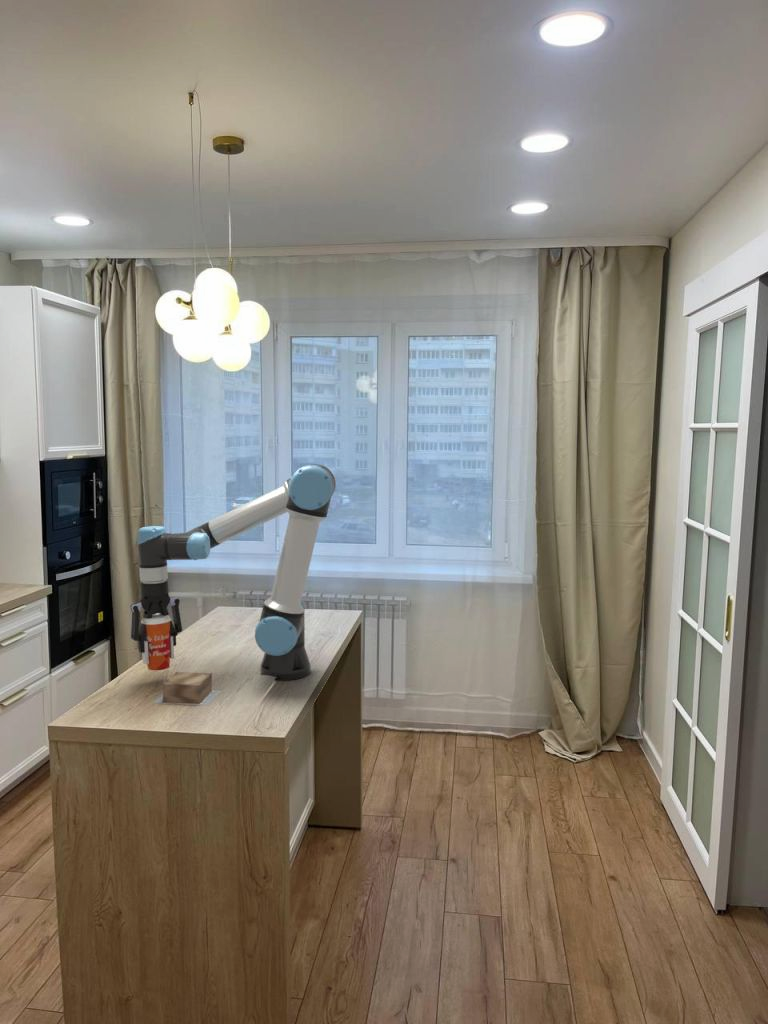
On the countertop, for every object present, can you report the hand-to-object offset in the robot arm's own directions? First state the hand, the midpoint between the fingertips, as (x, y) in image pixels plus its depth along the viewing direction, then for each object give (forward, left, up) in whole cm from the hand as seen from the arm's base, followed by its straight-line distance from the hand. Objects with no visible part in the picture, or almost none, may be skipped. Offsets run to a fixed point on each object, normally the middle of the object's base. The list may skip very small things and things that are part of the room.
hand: (158, 660), depth 208 cm
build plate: (-12, +11, -8) cm, 18 cm away
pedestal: (-12, +11, -7) cm, 18 cm away
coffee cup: (0, 0, -2) cm, 2 cm away
